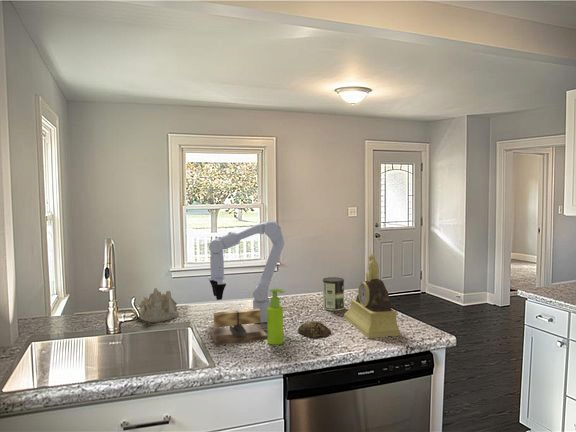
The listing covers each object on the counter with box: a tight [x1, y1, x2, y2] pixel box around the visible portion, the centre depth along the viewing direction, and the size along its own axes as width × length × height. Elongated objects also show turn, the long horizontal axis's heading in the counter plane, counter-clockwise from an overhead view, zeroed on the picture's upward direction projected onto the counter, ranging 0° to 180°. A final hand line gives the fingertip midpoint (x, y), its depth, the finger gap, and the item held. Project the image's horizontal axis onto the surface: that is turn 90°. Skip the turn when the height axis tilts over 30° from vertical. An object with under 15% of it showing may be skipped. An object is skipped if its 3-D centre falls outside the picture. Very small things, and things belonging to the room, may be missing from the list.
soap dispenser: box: [266, 288, 286, 346], centre depth 161 cm, size 6×7×20 cm
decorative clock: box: [343, 253, 401, 339], centre depth 179 cm, size 28×13×30 cm, turn 12°
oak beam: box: [213, 308, 261, 329], centre depth 170 cm, size 18×3×5 cm, turn 109°
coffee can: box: [322, 276, 345, 312], centre depth 208 cm, size 10×10×14 cm
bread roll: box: [297, 320, 332, 339], centre depth 172 cm, size 13×12×5 cm
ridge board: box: [209, 323, 268, 346], centre depth 170 cm, size 20×15×4 cm
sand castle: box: [138, 287, 180, 323], centre depth 198 cm, size 16×16×15 cm
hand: (217, 297), depth 189 cm, fingers open, 7 cm apart
